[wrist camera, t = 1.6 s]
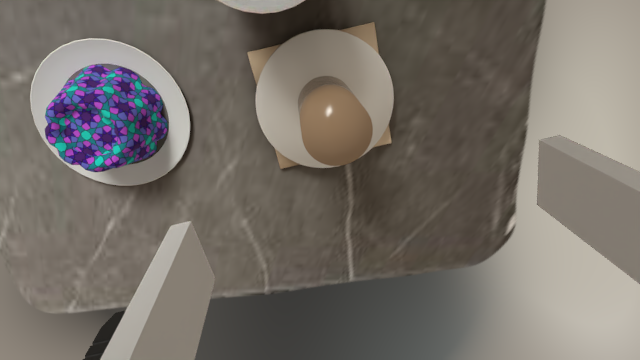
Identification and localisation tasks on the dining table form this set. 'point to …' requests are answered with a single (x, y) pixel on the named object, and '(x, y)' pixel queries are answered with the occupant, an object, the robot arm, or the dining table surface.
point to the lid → (324, 98)
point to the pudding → (109, 112)
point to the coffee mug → (261, 5)
